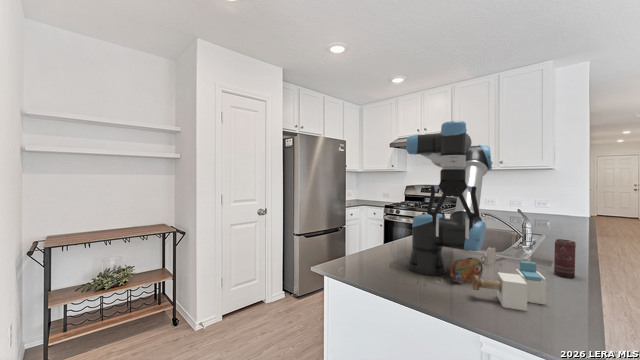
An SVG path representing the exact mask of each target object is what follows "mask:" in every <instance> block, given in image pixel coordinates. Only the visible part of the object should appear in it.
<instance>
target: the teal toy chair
mask: <svg viewBox="0 0 640 360" xmlns="http://www.w3.org/2000/svg"><path fill="white" fill-rule="evenodd" d="M518 270H519V271H520V272H521V273H522V274H523V275H524V276H525V279H529V280H538V281H542V278H541V277H540V276H539V275H538V274H537V273H536V271H537V263H536V262H535V261H534V262H533V261H527V260H526V261H523V260H519V269H518Z"/></svg>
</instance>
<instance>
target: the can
mask: <svg viewBox="0 0 640 360" xmlns="http://www.w3.org/2000/svg"><path fill="white" fill-rule="evenodd" d="M576 244H577V243H576V241H574V240H568V239H562V238H559V239H555V241H554V260H553V263H554V266H553V273H554V275H555V276H558V277H560V278H566V279H573V278H574V277H575V276H576V272H575V271H576V246H577V245H576Z"/></svg>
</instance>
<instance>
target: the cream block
mask: <svg viewBox="0 0 640 360" xmlns="http://www.w3.org/2000/svg"><path fill="white" fill-rule="evenodd" d="M496 278H497V280H496V281H500V282H502V290H496V297H497V299H498V301H499V302H500V304H501V307H503V308H506V309H510V310H511V309H512V310H518V311H524V312H527V311H528V302H527V283H526V282H525V281H524V279H523V278H522V277H521V276H520V275H517V274H515V273H507V272H499V271H498V272H497V277H496Z"/></svg>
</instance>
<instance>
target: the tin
mask: <svg viewBox="0 0 640 360" xmlns="http://www.w3.org/2000/svg"><path fill="white" fill-rule="evenodd" d="M449 267H450V269H449V274H450V275H449V276H450V278H451V281H453V282H455V283H458V284H460V285H464V284H468V283H472V275H478V277H479V279H481V276H482V275H483V270H484V269H483V268H484V267H483V263H482V261H481V260H480V259H478V258H476V257H475V258H474V257H466V258H460V259H456V260H454V261H452V262H451V265H450V266H449Z"/></svg>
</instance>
